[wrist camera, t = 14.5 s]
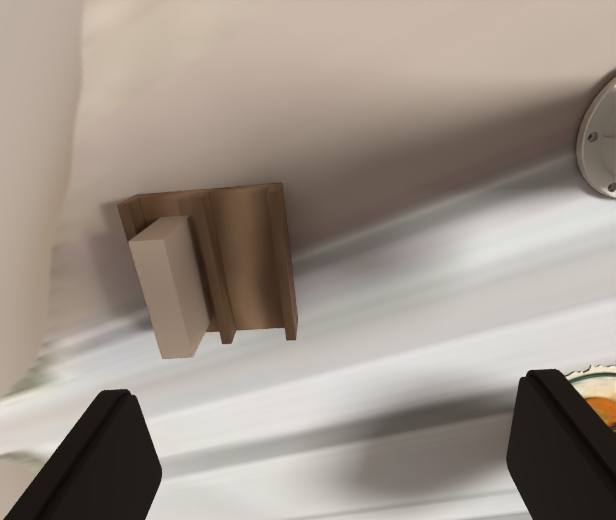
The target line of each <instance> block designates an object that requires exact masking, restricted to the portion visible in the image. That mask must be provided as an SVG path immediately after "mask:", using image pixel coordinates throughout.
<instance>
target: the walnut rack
mask: <svg viewBox="0 0 616 520" xmlns="http://www.w3.org/2000/svg"><path fill="white" fill-rule="evenodd" d="M117 207H118V210H119V214H120V217H121V220H122V224H123V227H124V230H125V234H126V237H127V240H128V241H130V240H131V239H132V238H134V237H135V236H136V235H138V234H139V233H140V232H142V231H143V230H145V229H146V228H147V227H149V226H150V225H151V224H153V223H154V222H155V221H157V220H158V219H159V218H161V217H171V216H184V215H190V216H191V221H192V225H193V230H194V235H195V239H196V244H197V249H198V253H199V258H200V262H201V267H202V272H203V276H204V281H205V286H206V290H207V295H208V299H209V304H210V309H211V313H212V320H211V322H210V324H209V326H208V328H207V330H206V332H218V331H220V336H221V340H222V344H231V343H232V341H233V338H234V335H235V332H236V330H252V329H269V328H285V332H286V340H287V341H288V340H296V334H297V324H298V316H297V307H296V298H295V290H294V281H293V273H292V264H291V255H290V247H289V238H288V230H287V221H286V212H285V204H284V195H283V187H282V183H274V184H262V185H250V186H237V187H225V188H213V189H201V190H189V191H177V192H165V193H153V194H141V195H135V196H133V197H132V198H130V199H128V200H126V201H124V202H122V203H120V204H118V205H117ZM128 244H129V243H128ZM130 251H131V250H130Z"/></svg>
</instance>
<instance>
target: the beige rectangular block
mask: <svg viewBox="0 0 616 520" xmlns="http://www.w3.org/2000/svg"><path fill="white" fill-rule="evenodd" d="M128 243H129V247H130V250H131V254H132V257H133V261H134V264H135V267H136V271H137V274H138V278H139V281H140V284H141V288H142V291H143V295H144V298H145V302H146V305H147V308H148V312H149V315H150V319H151V322H152V325H153V329H154V332H155V336H156V339H157V342H158V346H159V349H160V353H161V356H162V359H171V358H191V357H193V356H194V354H195V352H196V350H197V348H198V346H199V344H200V342H201V340H202V338H203V336H204V334H205V332H206V330H207V328H208V326H209V324H210V322H211V320H212V313H211V309H210V304H209V299H208V295H207V290H206V286H205V281H204V276H203V272H202V267H201V262H200V258H199V253H198V249H197V244H196V239H195V235H194V230H193V225H192V221H191V216H190V215H184V216H171V217H161V218H159V219H158V220H157V221H155V222H154V223H153V224H151V225H150V226H149V227H147V228H146V229H145V230H143V231H142V232H140V233H139V234H138V235H136V236H135V237H134V238H132V239H131V240H130V241H128Z"/></svg>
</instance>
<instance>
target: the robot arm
mask: <svg viewBox="0 0 616 520" xmlns="http://www.w3.org/2000/svg"><path fill="white" fill-rule="evenodd" d="M588 136H589V137H588ZM576 155H577V161H578V166H579V168H580V171H581V173H582V176H583V177H584V178H585V180H586V181H587V182H588V184H589V185H590V186H592V187H593V188H594V189H595V190H597V191H598V192H600V193H602V194H604V195H607V196H609V197H613V198H616V77H615V78H613V79H612V80H611V81H610V82H609V83H608V84H607V85H606V86H605V87H604V88H603V89H602V90H601V92H600V93H599V94H598V95H597V96H596V98H595V99H594V100H593V102H592V104H591V105H590V107H589V109H588V110H587V112H586V114H585V116H584V118H583V121H582V123H581V126H580V129H579V133H578V138H577V148H576ZM506 460H507V466H508V470H509V472H510V475H511V477H512V479H513V481H514V483H515V485H516V487H517V489H518V491H519V493H520V495H521V497H522V499H523V501H524V503H525V505H526V507H527V509H528V511H529V513H530V515H531V517H532V519H533V520H616V433H615V432H614V431H612V430H611V429H610V428H609V427H608V425H607V424H606V423H605V422H604V421H603V420H602V419H601V417H600V416H599V415H598V414H597V413H596V412H595V411H594V409H593V408H592V407H591V406H590V405H589V404H588V403H587V401H586V400H585V399H584V398H583V397H582V396H581V394H580V393H579V392H578V391H577V390H576V389H575V388H574V386H573V385H572V384H571V383H570V382H569V381H568V380H567V378H566V377H565V376H564V375H563V374H562V373H561V372H560V371H559V370H557V369H544V370H529V371H528V372H527V374H526V377H521V378H520V381H519V385H518V391H517V397H516V403H515V409H514V415H513V421H512V427H511V433H510V439H509V445H508V451H507V458H506ZM161 478H162V468H161V465H160V462H159V459H158V456H157V454H156V451H155V448H154V445H153V442H152V439H151V437H150V434H149V431H148V428H147V425H146V422H145V419H144V417H143V414H142V411H141V408H140V405H139V402H138V400H137V397H136V396H135V395H131V393H130V391H129V390H127V389H119V390H104V391H101V392H100V393H99V394H98V395H97V396H96V398H95V399H94V400H93V402H92V403H91V404H90V406H89V407H88V408H87V410H86V411H85V412H84V414H83V415H82V416H81V418H80V419H79V420H78V422H77V423H76V424H75V426H74V427H73V428H72V430H71V431H70V432H69V433H68V435H67V436H66V437H65V439H64V440H63V441H62V443H61V444H60V445H59V447H58V448H57V449H56V451H55V452H54V453H53V455H52V456H51V457H50V459H49V460H48V461H47V463H46V464H45V465H44V467H43V468H42V469H41V471H40V472H39V473H38V474H37V476H36V477H35V478H34V480H33V481H32V482H31V484H30V485H29V487H28V488H27V489H26V490H25V492H24V493H23V494H22V496H21V497H20V498H19V500H18V501H17V502H16V504H15V505H14V506H13V508H12V509H11V510H10V512H9V513H8V515H7V516H6V517H5V518H4V519H3V520H145V519H146V516H147V514H148V511H149V509H150V507H151V504H152V502H153V500H154V497H155V495H156V492H157V490H158V488H159V485H160V482H161Z"/></svg>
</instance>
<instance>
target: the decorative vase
mask: <svg viewBox="0 0 616 520" xmlns="http://www.w3.org/2000/svg"><path fill="white" fill-rule="evenodd" d="M566 378H567V380H568V381H569V382H570V383H571V384H572V385H573V386H574V388H575V389H576V390H577V391H578V392H579V393H580V394H581V396H582V397H583V398H584V399H585V400H586V401H587V403H588V404H589V405H590V406H591V407H592V408H593V409H594V411H595V412H596V413H597V414H598V415H599V416H600V417H601V419H602V420H603V421H604V422H605V423H606V424H607V425H608V427H609V428H610V429H611V430H612V431H614V432H615V433H616V366H610V367H608V368H607V367H603V366H601V365H600V366H598V367H595V366H593V365H591V368H590V370H589V371H587V372H585V373H583V372H582V371H581V372H580V373H578V372H574V373H572V374H571V375H569V376H567V377H566Z"/></svg>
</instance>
